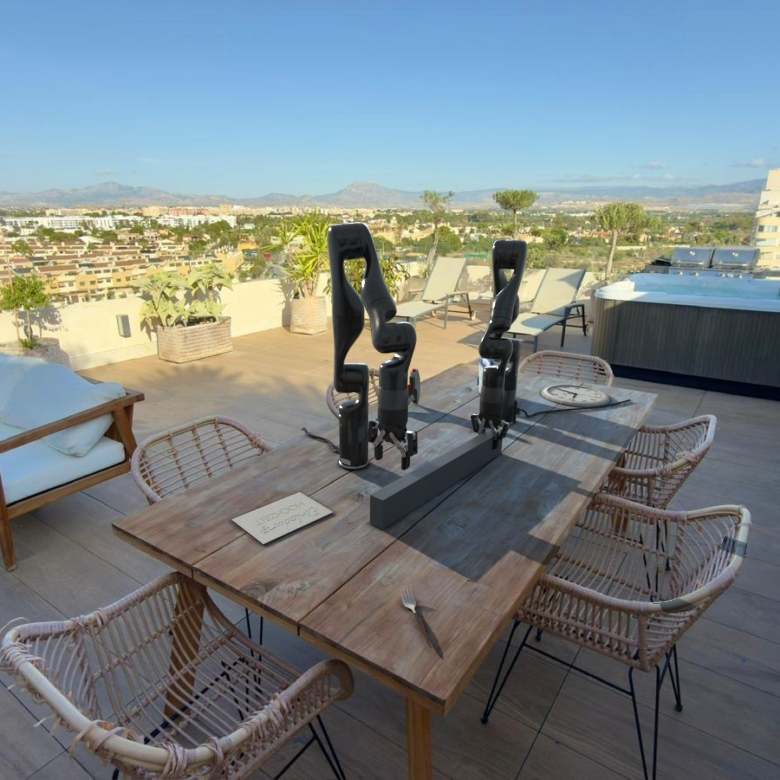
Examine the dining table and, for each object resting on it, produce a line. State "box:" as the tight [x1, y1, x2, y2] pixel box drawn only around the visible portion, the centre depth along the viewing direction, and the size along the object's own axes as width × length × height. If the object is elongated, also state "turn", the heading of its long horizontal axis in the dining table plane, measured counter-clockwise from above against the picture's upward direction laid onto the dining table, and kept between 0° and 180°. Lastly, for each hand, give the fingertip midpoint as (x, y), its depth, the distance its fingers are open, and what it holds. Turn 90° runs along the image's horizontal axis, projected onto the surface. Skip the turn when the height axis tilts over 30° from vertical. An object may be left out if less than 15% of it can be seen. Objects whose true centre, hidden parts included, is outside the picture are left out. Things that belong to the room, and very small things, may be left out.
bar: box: [369, 428, 504, 530], centre depth 155 cm, size 62×4×8 cm, turn 140°
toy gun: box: [408, 367, 421, 407], centre depth 218 cm, size 2×16×15 cm
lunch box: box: [476, 356, 510, 394], centre depth 230 cm, size 26×11×21 cm, turn 179°
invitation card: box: [231, 491, 334, 545], centre depth 137 cm, size 21×1×15 cm
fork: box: [399, 584, 432, 649], centre depth 101 cm, size 3×16×2 cm, turn 16°
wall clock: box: [541, 384, 611, 408], centre depth 239 cm, size 30×2×30 cm
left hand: (391, 464), depth 133 cm, fingers open, 8 cm apart
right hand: (488, 447), depth 174 cm, fingers closed on bar, 4 cm apart
